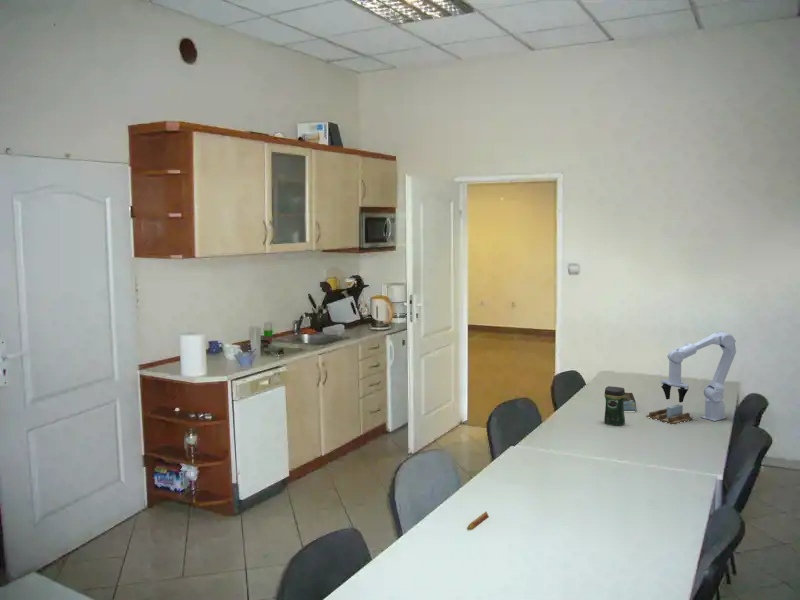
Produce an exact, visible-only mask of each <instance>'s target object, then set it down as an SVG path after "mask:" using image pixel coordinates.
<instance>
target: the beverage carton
mask: <svg viewBox="0 0 800 600" xmlns="http://www.w3.org/2000/svg"><path fill="white" fill-rule="evenodd" d="M624 411H635V412H634V413H636V412H637V402H636V399H635V395H634V394H633V392H625V398H624Z"/></svg>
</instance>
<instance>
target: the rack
mask: <svg viewBox="0 0 800 600" xmlns="http://www.w3.org/2000/svg"><path fill="white" fill-rule="evenodd" d="M690 415H691V413H690V412H686V413H682V414H681V415H677V416H673V417H669V418H668V419H667V407H666V408H661V409H658V410H653V411H650V412H649V413H648V414H647V415H646V417H650V418H653V419H652V420H654V419H657V420H660V421H659V422H661V421H663V422H662V423H665V422H667V423H666V424H668V423H670V424H669V425H672V424H675V425H678V424H677V423H679V424H681V423H680V422H683V423H685V422H684V421H686V422H689V421H688V420H690V421H693V420H694V419H693V417H691V416H690ZM646 417H645V418H646ZM650 418H649V419H650ZM692 419H693V420H692ZM657 420H656V421H657Z"/></svg>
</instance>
